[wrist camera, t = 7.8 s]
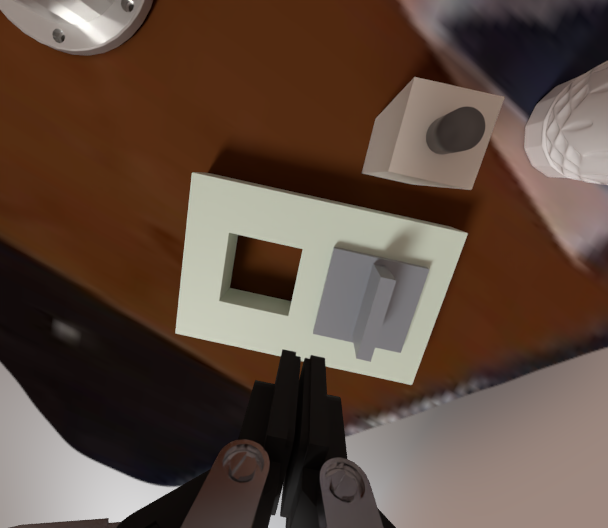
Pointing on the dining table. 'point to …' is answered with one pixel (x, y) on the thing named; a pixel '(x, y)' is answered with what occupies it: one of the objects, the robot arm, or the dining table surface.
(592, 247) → the dining table surface
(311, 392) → the robot arm
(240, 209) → the socket board
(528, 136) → the white cup
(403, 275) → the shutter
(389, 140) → the plug
